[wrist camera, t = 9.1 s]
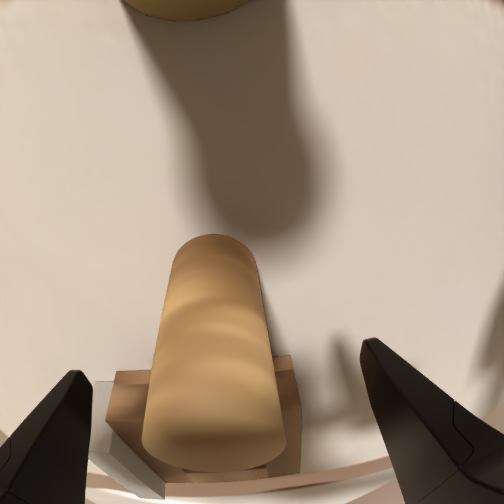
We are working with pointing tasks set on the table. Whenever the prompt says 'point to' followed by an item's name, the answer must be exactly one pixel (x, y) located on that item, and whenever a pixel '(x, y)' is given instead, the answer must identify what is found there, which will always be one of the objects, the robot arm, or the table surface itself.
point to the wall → (119, 451)
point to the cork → (184, 8)
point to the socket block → (130, 431)
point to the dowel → (213, 365)
